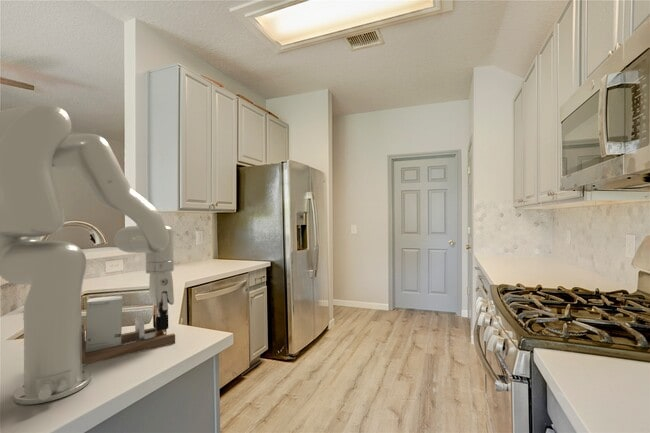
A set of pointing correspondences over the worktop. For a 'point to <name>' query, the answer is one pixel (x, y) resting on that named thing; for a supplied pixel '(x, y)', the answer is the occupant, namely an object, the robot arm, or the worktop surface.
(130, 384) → the worktop surface
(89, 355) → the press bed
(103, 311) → the skincare box
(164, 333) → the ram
